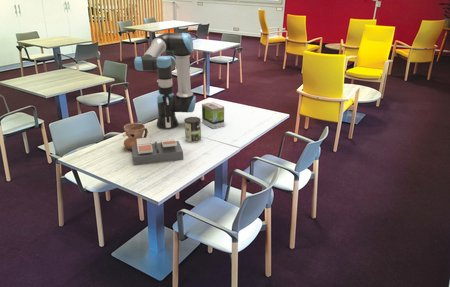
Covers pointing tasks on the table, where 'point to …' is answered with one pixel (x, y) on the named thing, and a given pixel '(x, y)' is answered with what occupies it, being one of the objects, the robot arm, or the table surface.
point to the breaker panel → (158, 154)
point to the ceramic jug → (134, 134)
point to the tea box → (213, 115)
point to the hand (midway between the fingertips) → (168, 127)
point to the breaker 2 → (168, 142)
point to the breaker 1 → (144, 145)
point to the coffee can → (192, 129)
